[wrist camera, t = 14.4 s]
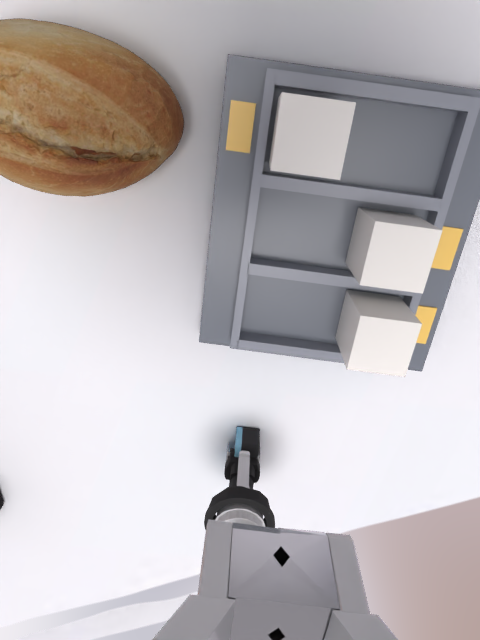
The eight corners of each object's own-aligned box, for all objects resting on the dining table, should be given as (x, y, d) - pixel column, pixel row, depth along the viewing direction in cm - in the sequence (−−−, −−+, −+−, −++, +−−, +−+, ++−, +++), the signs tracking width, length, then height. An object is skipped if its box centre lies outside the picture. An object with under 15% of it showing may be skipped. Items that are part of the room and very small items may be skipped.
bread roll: (181, 201, 33) (159, 223, 26) (-19, 170, 33) (-99, 183, 26) (195, 54, 29) (173, 31, 22) (-32, 18, 29) (-130, -19, 22)
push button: (265, 482, 44) (267, 576, 34) (211, 475, 44) (199, 569, 34) (275, 426, 41) (280, 513, 32) (217, 420, 41) (205, 504, 32)
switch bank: (229, 58, 29) (226, 50, 26) (498, 96, 30) (527, 92, 26) (202, 331, 37) (196, 350, 34) (413, 359, 38) (428, 381, 34)
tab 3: (346, 289, 33) (360, 315, 29) (399, 296, 33) (422, 323, 29) (335, 337, 35) (346, 369, 30) (385, 344, 35) (405, 377, 30)
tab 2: (358, 207, 31) (375, 221, 26) (415, 214, 31) (442, 230, 26) (345, 262, 32) (359, 285, 28) (399, 270, 32) (422, 293, 28)
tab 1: (278, 97, 28) (281, 91, 24) (340, 106, 28) (356, 102, 24) (268, 163, 30) (270, 170, 25) (327, 171, 30) (340, 180, 25)
